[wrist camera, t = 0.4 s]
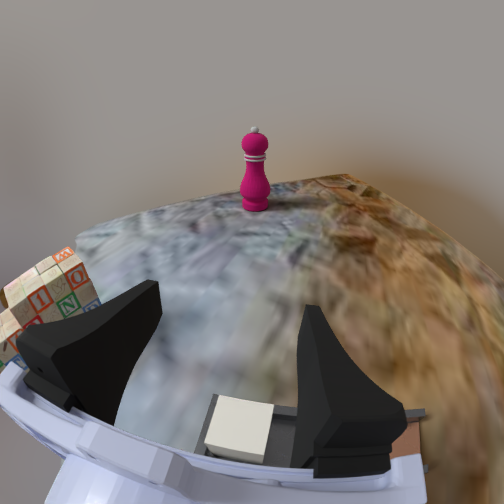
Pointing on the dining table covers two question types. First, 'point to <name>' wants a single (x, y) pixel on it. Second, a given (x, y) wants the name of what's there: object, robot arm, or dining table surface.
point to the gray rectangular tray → (284, 433)
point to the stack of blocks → (44, 300)
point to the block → (239, 429)
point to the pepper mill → (255, 172)
